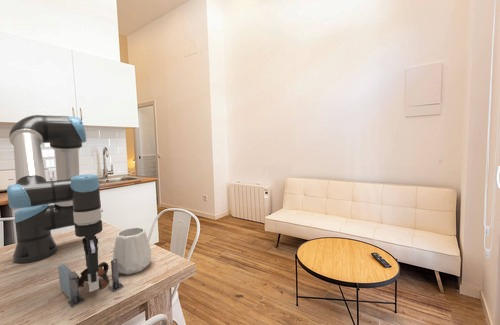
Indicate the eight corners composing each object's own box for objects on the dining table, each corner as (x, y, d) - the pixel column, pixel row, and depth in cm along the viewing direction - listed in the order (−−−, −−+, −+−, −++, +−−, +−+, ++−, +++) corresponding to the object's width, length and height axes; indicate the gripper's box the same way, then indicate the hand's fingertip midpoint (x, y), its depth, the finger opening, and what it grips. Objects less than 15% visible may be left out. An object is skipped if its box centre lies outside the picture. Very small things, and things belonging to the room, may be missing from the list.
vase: (159, 261, 103) (157, 227, 101) (134, 279, 89) (131, 240, 88) (132, 257, 107) (130, 224, 106) (105, 274, 94) (102, 236, 92)
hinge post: (67, 302, 77) (65, 279, 76) (80, 296, 80) (78, 274, 79) (71, 307, 75) (69, 283, 74) (84, 301, 78) (82, 277, 77)
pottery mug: (101, 295, 82) (84, 278, 79) (81, 303, 84) (64, 287, 81) (120, 268, 93) (106, 252, 91) (102, 276, 95) (88, 261, 92)
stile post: (108, 288, 84) (106, 261, 83) (119, 283, 87) (117, 257, 86) (113, 291, 82) (111, 264, 81) (123, 286, 85) (121, 259, 84)
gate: (80, 300, 77) (77, 274, 77) (74, 302, 76) (71, 276, 75) (65, 285, 86) (63, 261, 85) (60, 287, 84) (57, 263, 84)
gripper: (105, 223, 76) (110, 293, 78) (98, 214, 86) (103, 277, 88) (76, 229, 71) (83, 304, 74) (72, 219, 81) (78, 285, 83)
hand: (94, 289), depth 81 cm, fingers closed
